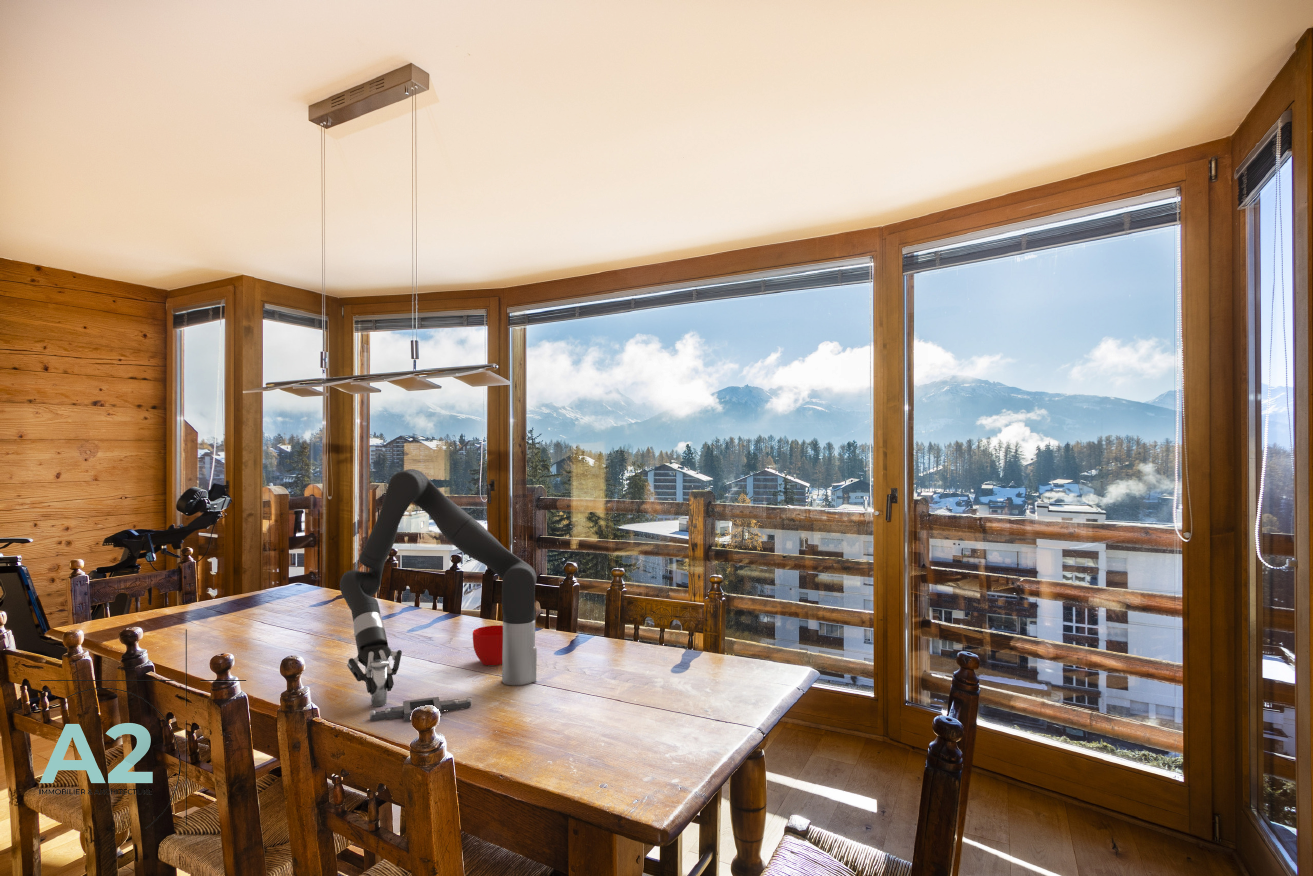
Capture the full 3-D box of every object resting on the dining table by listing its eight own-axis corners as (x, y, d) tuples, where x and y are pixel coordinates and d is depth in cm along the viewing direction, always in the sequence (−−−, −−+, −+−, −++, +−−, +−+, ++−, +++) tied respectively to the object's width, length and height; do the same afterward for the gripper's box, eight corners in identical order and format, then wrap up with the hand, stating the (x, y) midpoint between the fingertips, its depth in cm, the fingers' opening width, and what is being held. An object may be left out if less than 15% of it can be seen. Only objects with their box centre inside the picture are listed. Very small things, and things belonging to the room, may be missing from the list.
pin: (388, 700, 170) (389, 658, 171) (388, 706, 166) (389, 663, 166) (369, 702, 168) (370, 660, 169) (369, 709, 164) (369, 665, 165)
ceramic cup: (498, 674, 191) (499, 640, 192) (463, 663, 202) (464, 631, 202) (531, 664, 202) (532, 631, 202) (496, 654, 212) (497, 623, 212)
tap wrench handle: (469, 700, 170) (469, 692, 171) (473, 712, 163) (473, 703, 163) (369, 713, 161) (370, 705, 161) (369, 726, 153) (369, 717, 153)
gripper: (344, 629, 169) (354, 689, 159) (400, 621, 178) (413, 678, 168) (339, 645, 173) (349, 704, 163) (393, 636, 182) (406, 692, 172)
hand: (381, 690), depth 166 cm, fingers closed on pin, 3 cm apart
